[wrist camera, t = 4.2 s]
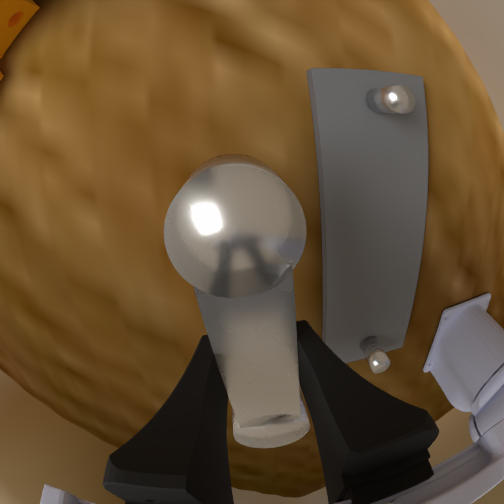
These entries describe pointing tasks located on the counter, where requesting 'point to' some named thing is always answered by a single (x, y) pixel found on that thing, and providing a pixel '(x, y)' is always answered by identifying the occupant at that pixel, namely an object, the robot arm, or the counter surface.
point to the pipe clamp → (13, 21)
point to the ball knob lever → (245, 288)
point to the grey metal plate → (369, 205)
